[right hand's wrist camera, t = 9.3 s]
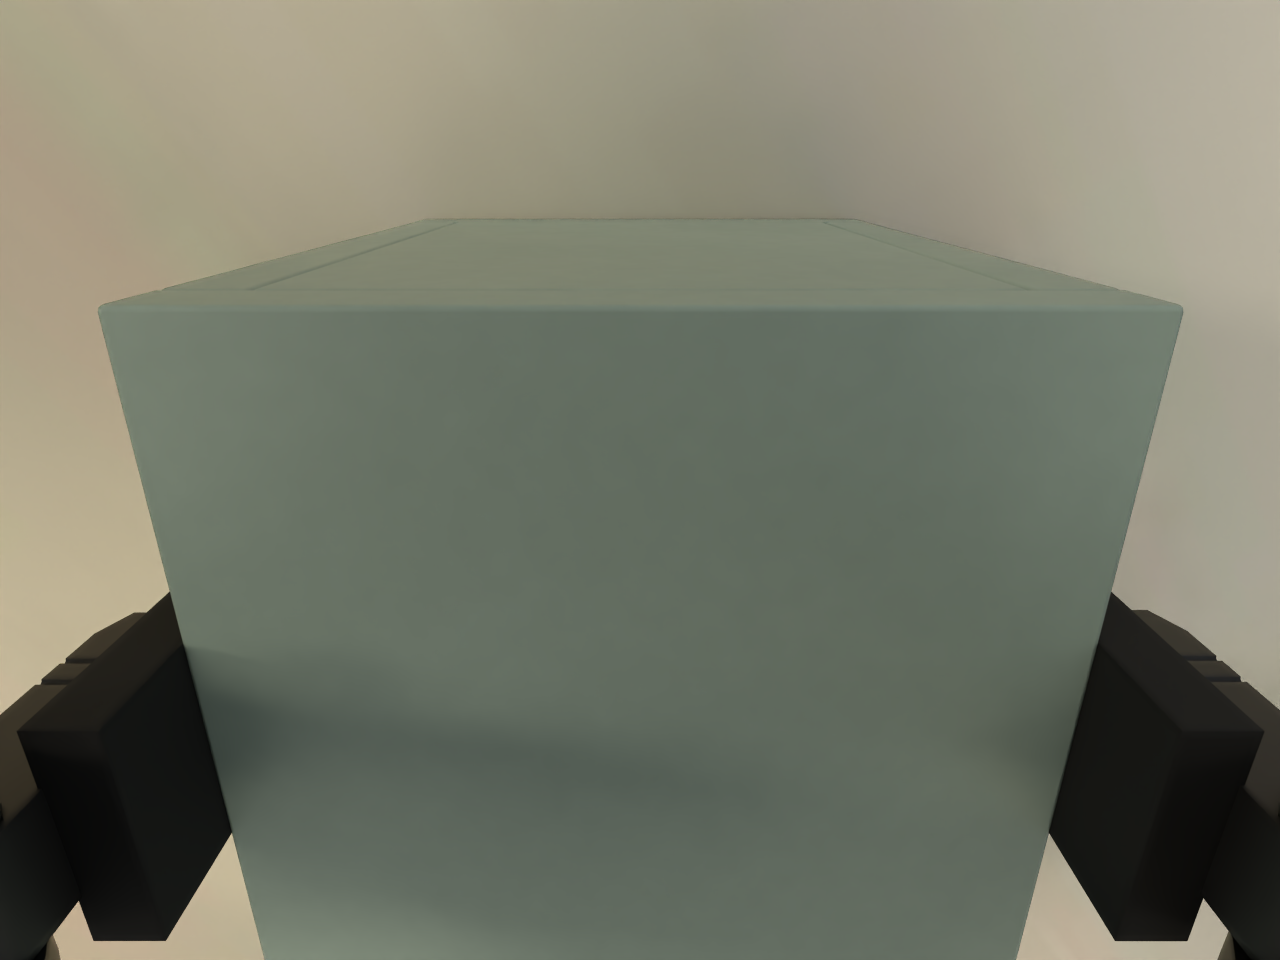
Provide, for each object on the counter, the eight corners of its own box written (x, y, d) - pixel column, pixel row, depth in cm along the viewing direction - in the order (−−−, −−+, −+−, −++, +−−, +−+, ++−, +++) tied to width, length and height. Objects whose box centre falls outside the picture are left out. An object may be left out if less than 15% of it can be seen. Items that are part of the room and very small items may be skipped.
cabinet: (793, 860, 25) (908, 1383, 14) (486, 860, 25) (371, 1383, 14) (856, 218, 18) (1187, 305, 7) (423, 218, 18) (92, 304, 7)
